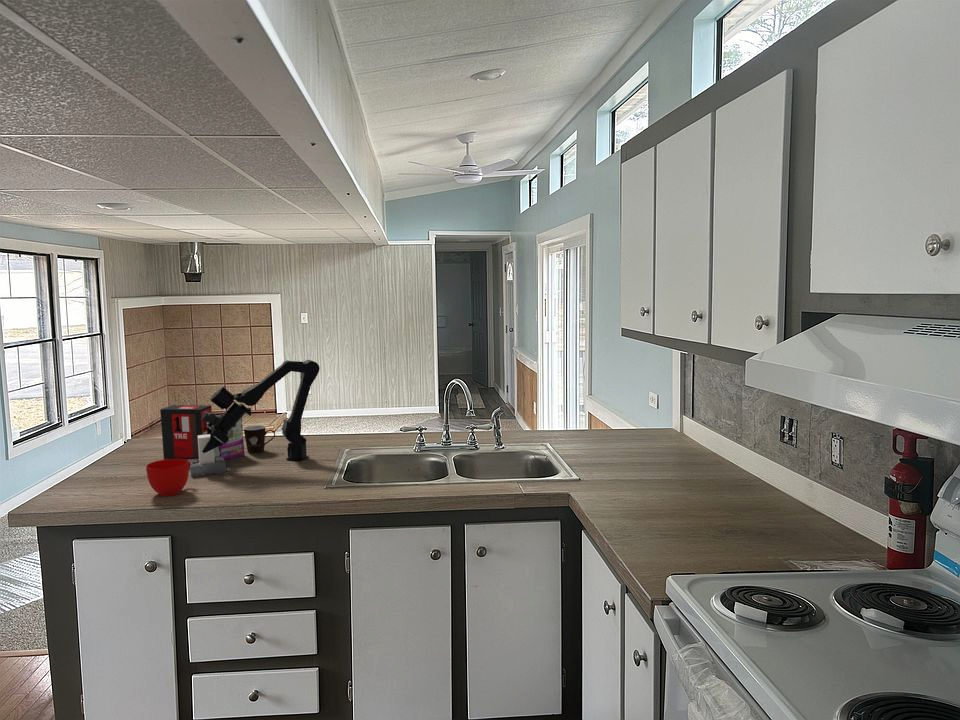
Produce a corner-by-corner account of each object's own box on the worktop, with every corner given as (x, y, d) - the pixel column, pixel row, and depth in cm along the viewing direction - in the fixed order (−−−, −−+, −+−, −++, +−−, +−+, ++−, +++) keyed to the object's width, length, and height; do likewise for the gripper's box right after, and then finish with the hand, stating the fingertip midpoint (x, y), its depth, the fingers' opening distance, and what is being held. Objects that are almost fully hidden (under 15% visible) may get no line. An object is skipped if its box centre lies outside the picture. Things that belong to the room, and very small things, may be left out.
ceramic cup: (206, 485, 241) (204, 456, 240) (172, 500, 225) (170, 470, 224) (174, 482, 245) (172, 454, 243) (139, 497, 228) (137, 467, 227)
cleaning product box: (163, 459, 278) (160, 409, 275) (175, 453, 286) (172, 405, 284) (203, 459, 276) (200, 409, 273) (214, 453, 285) (211, 405, 282)
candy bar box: (237, 453, 284) (235, 413, 282) (244, 455, 281) (242, 415, 279) (212, 459, 275) (210, 418, 273) (219, 461, 272) (217, 420, 270)
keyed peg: (213, 467, 263) (211, 434, 261) (215, 471, 258) (213, 436, 257) (195, 470, 260) (193, 436, 259) (196, 473, 256) (194, 438, 254)
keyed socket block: (222, 464, 268) (222, 455, 267) (226, 472, 257) (225, 462, 256) (188, 468, 262) (188, 459, 262) (191, 476, 252) (190, 467, 251)
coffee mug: (240, 453, 284) (239, 429, 283) (253, 448, 292) (251, 425, 291) (265, 455, 280) (263, 430, 279) (277, 450, 289) (276, 426, 287)
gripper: (211, 399, 267) (182, 431, 263) (217, 407, 250) (185, 441, 246) (234, 417, 271) (206, 449, 268) (241, 426, 254) (211, 460, 251)
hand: (201, 449), depth 258 cm, fingers open, 9 cm apart
